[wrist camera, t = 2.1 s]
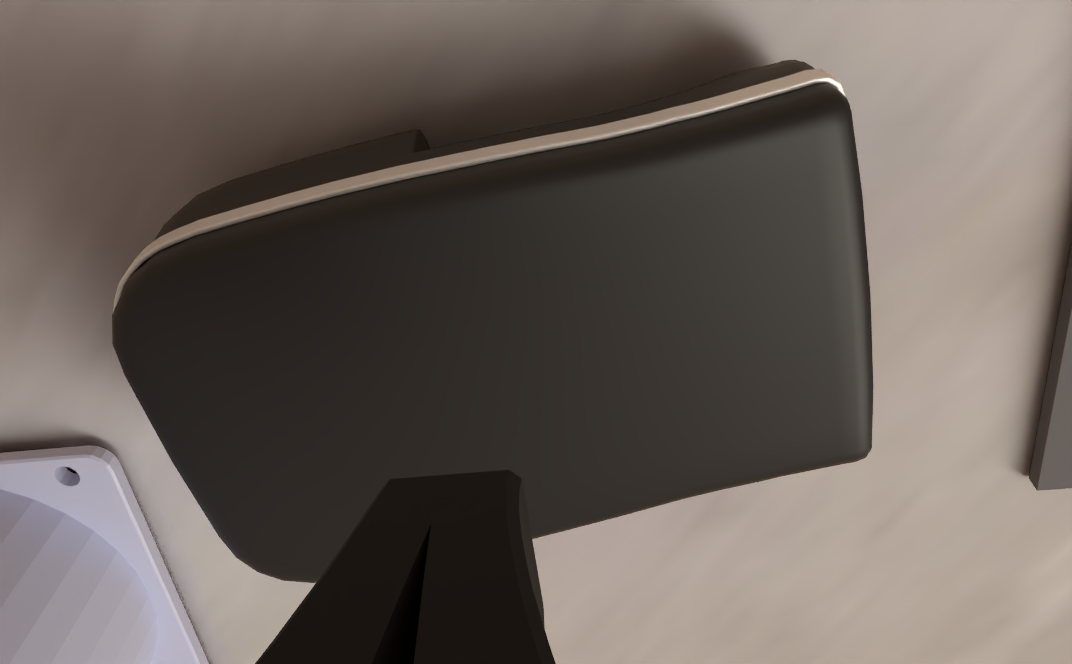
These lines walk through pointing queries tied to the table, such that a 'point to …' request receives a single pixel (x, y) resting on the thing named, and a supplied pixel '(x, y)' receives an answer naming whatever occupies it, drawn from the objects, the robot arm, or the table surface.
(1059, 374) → the mat
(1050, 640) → the table surface
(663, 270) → the battery charger
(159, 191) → the table surface
